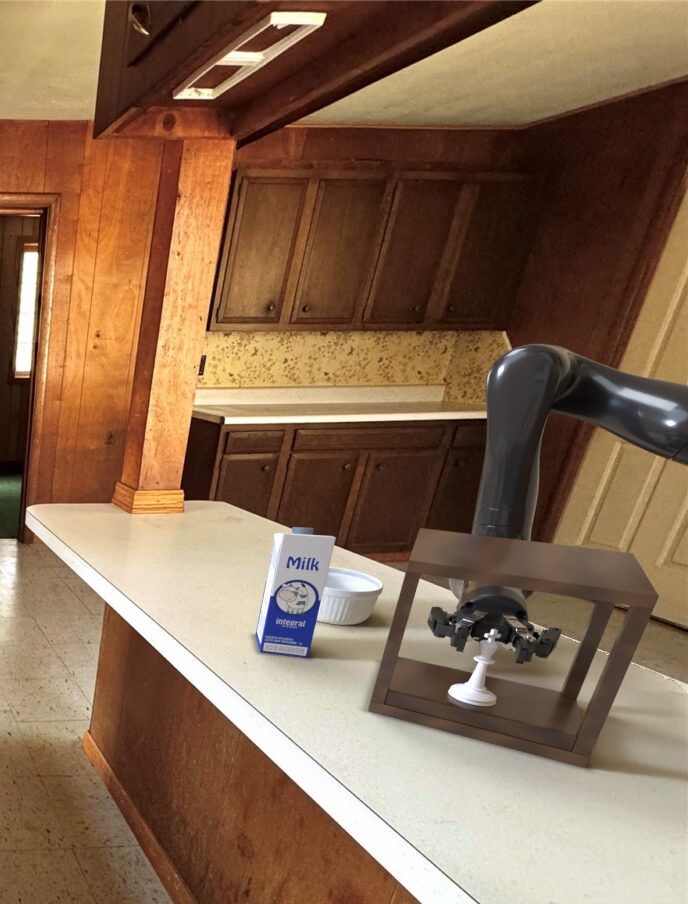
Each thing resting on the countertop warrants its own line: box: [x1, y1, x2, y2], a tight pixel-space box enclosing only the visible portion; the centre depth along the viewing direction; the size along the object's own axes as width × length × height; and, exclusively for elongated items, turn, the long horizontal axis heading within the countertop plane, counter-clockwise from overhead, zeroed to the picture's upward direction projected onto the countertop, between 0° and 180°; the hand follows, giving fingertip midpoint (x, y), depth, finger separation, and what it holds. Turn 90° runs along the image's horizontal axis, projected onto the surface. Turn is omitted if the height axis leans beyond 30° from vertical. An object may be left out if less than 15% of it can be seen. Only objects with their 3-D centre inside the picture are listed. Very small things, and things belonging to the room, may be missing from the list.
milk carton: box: [255, 526, 337, 659], centre depth 104 cm, size 7×7×20 cm
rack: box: [367, 527, 660, 768], centre depth 85 cm, size 21×18×22 cm
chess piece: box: [448, 629, 501, 706], centre depth 87 cm, size 5×5×10 cm
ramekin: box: [316, 566, 384, 626], centre depth 119 cm, size 13×13×7 cm
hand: (491, 650), depth 84 cm, fingers open, 5 cm apart
